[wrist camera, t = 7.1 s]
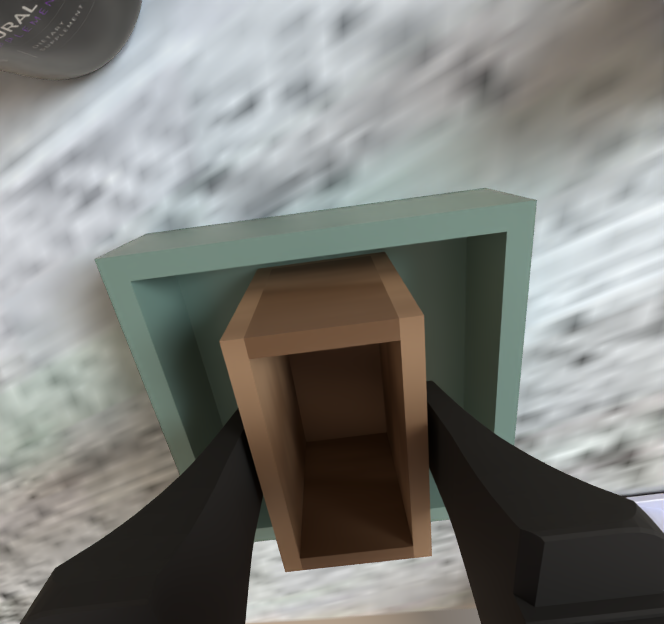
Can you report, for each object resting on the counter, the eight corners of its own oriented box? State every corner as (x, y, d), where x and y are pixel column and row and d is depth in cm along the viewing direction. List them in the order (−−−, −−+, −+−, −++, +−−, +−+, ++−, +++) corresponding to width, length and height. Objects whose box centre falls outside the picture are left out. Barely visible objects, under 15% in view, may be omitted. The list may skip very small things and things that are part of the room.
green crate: (472, 444, 20) (507, 512, 16) (228, 473, 20) (208, 547, 16) (481, 187, 14) (536, 200, 11) (150, 231, 15) (94, 259, 11)
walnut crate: (398, 431, 18) (431, 555, 13) (296, 444, 18) (285, 571, 13) (384, 251, 14) (424, 315, 9) (257, 268, 15) (219, 341, 9)
